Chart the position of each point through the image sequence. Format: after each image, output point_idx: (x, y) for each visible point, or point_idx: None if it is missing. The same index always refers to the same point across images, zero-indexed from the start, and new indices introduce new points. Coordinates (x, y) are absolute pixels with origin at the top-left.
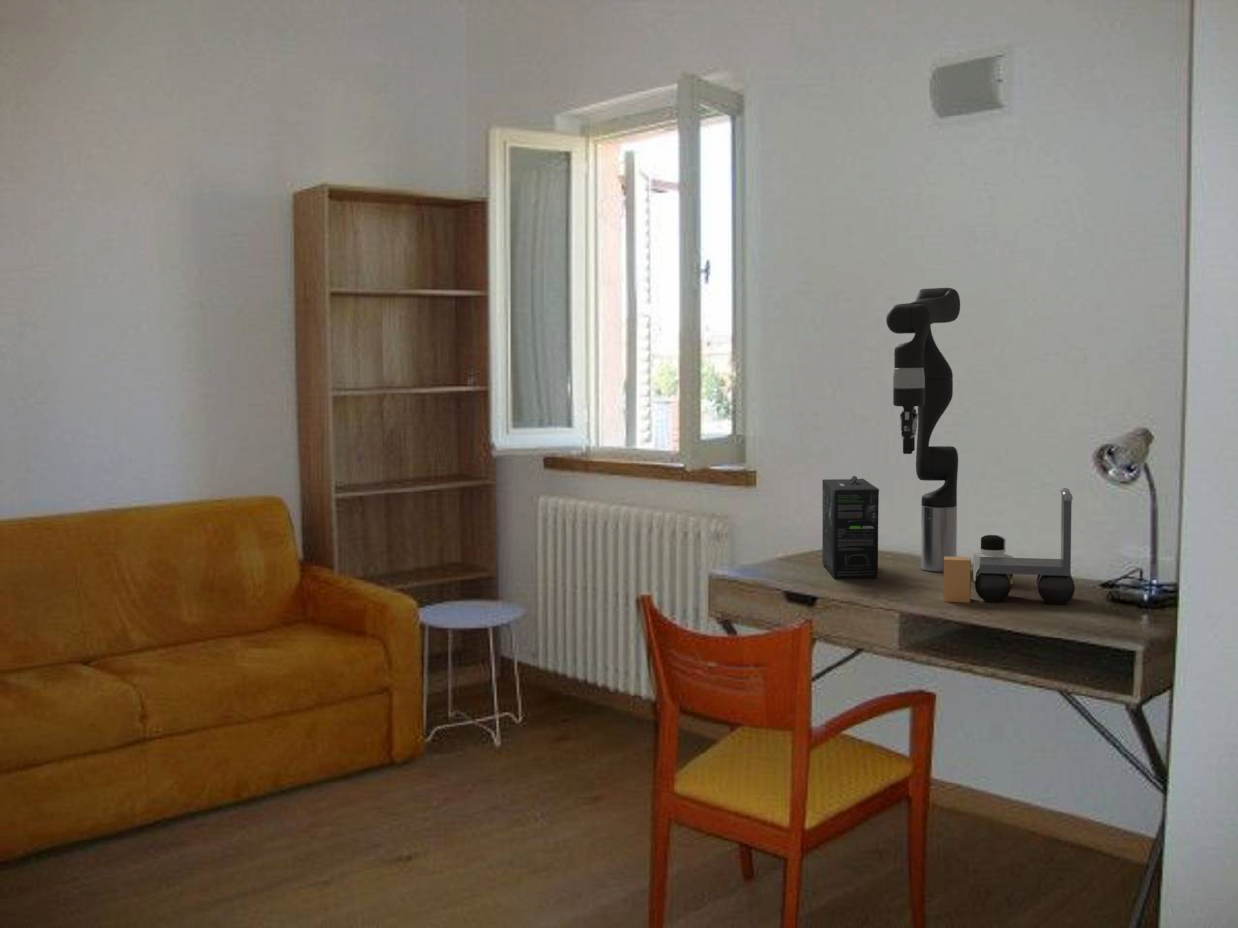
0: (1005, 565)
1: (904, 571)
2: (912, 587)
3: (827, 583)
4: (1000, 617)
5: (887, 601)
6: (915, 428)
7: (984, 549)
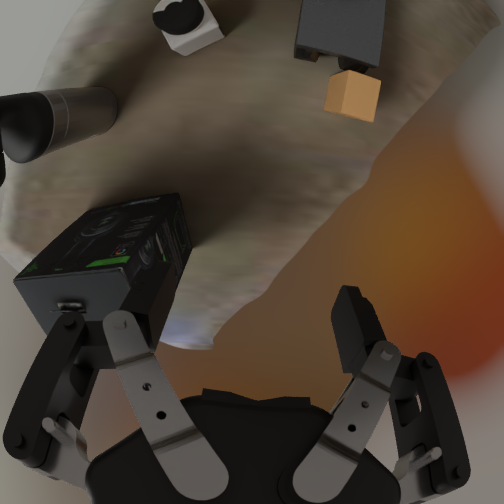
0: (382, 31)
1: (119, 156)
2: (245, 146)
3: (224, 257)
4: (436, 80)
5: (348, 191)
6: (157, 361)
7: (194, 28)
